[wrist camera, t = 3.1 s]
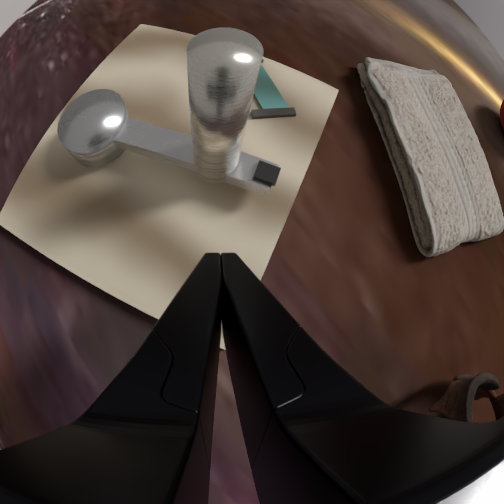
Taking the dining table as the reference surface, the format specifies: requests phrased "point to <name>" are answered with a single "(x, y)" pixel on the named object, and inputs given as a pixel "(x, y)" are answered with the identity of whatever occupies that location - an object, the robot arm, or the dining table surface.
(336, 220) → the dining table surface
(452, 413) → the pottery mug
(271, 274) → the dining table surface
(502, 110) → the tomato
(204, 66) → the crank handle
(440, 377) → the dining table surface
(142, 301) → the napkin
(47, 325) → the dining table surface
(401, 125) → the washcloth
